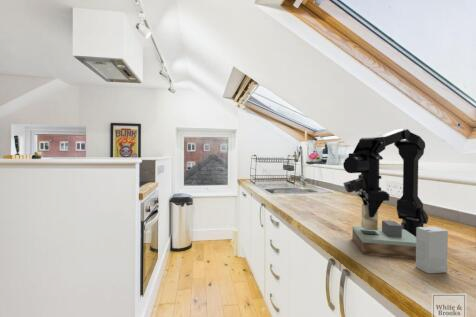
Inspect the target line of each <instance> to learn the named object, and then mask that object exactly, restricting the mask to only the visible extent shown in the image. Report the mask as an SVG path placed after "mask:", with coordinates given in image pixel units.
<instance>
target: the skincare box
mask: <svg viewBox="0 0 476 317" xmlns="http://www.w3.org/2000/svg"><path fill="white" fill-rule="evenodd" d="M448 234H449V232H448V230H446V229H444V228H440V227H438V226H437V227H436V226H423V227H417V228H416V259H415V267H416V268H418V269H419V270H421V271H423V272H425V273H427V274H439V273H440V274H442V273H447V272H448V241H449V240H448V239H449V237H448V236H449V235H448Z"/></svg>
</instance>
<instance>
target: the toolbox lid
mask: <svg viewBox="0 0 476 317" xmlns="http://www.w3.org/2000/svg"><path fill="white" fill-rule="evenodd" d="M351 228H352V229H353V230H354V232H355V233H356V234H357V235H358V237H359V238H360V239H361V240H362V242H366V243H378V244H390V245H403V246H415V247H416V237H415V236H414V235H412V234H411V233H409V232H408V231H406V230H405V229H402V226H401V223H398V222H397V221H395V220H381V227H378V230H365V229H364V228H363V227H362V225H361V226H360V225H359V226H358V225H352V227H351ZM363 233H365V234H375V235H364V234H363Z"/></svg>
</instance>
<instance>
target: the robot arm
mask: <svg viewBox="0 0 476 317" xmlns="http://www.w3.org/2000/svg"><path fill="white" fill-rule="evenodd" d="M392 144H394V146H395V147H396V149H397V150H398V155H399V156H400V157H401V159H402V161H403V163H402V168H403V169H402V171H403V173H402V196H401V197H400V199H397V200H396V213H397V216H398V217H397V218H398V219H399V220H402V221H401V222H400V225H401V226H402V229H405V230H406V231H408V232H409V233H411V234H412V235H414V236H415V237H416V228H417V227H424V225H425V224H426V225H427V224H428V222H429V216H428V215H427V212H426V211H425V209H424V204H423V201H422V200H421V199H420V198H419V160H420V159H421V158H422V156H423V155H424V153H425V149H426V142H425V140H424V139H422V137H421V136H420V135H418V134H416V133H413V132H411V131H410V130H409V129H406V128H400V129H393V130H392V131H389V132H387V133H383V134H381V135H378V136H371V137H361V138H360V139H359V140H358V142H357V144H356V146H355V148H354V150H353V152H352V153H351V152H350V153H348V156H347V157H346V158H345V159H344V162H343V164H342V165H343V169H344V170H345V172H346V173H348V174H358V175H357V176H358V177H357V178H356V179H352V180H349V181H345V182H343V183H342V184H343V186H344V189H345V191H346V192H347V193H353V192H354V193H356V195H357V196H358V197H359V198H360V199H361V201H362V205H368V210H369V216H370V217H374V215H375V214H376V212H377V210H378V211H379V208H380V207H381V205H382V204H383V203H384V202H385V201H386V202H388V201H390V194H389V193H388V192H387V191H385V190H382V187H380V179H382V175H380V161H381V160H384V157H382V155H381V154H380V153H381V152H383V151H385V150H386V147H387V146H391V145H392Z"/></svg>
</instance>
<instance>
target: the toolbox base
mask: <svg viewBox="0 0 476 317" xmlns="http://www.w3.org/2000/svg"><path fill="white" fill-rule="evenodd" d="M351 233H352V235H351V236H352V238H351V239H352V240H353V242H354V243H355V245H356V246H357V248H358V249H359V250H360V252H361V253H362V255H369V256H381V257H390V258H401V259H413V260H416V247H415V246H403V245H390V244H378V243H366V242H362V240H361V239H360V238H359V237H358V235H357V234H356V233H355V232H354V230H353V229H352V232H351ZM363 234H364V235H375V234H365V233H363Z"/></svg>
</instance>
